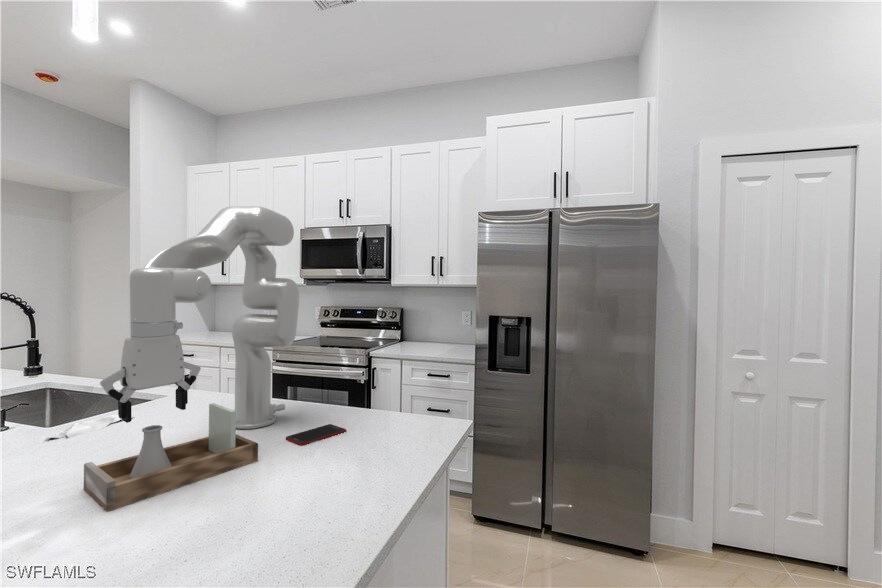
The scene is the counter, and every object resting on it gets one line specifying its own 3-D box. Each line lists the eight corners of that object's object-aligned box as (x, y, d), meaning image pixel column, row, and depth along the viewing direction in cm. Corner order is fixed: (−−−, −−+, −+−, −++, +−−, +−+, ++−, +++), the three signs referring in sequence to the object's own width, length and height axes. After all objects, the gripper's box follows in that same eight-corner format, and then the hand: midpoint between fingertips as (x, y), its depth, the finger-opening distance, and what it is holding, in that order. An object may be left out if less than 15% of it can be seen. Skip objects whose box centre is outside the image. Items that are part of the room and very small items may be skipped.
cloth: (129, 412, 132) (129, 405, 132) (157, 419, 127) (157, 411, 127) (19, 438, 109) (20, 429, 109) (47, 447, 103) (48, 438, 103)
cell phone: (347, 433, 117) (347, 429, 117) (301, 448, 105) (301, 444, 105) (330, 427, 122) (330, 423, 122) (284, 440, 110) (284, 437, 110)
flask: (150, 487, 80) (151, 435, 80) (119, 483, 82) (120, 431, 82) (181, 471, 87) (182, 423, 87) (152, 467, 89) (153, 420, 89)
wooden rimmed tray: (228, 447, 104) (228, 427, 104) (257, 460, 96) (258, 438, 96) (83, 489, 81) (83, 463, 81) (106, 511, 73) (107, 482, 73)
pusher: (212, 448, 99) (213, 403, 99) (235, 459, 93) (235, 411, 93) (208, 450, 98) (209, 404, 98) (230, 461, 92) (231, 411, 92)
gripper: (191, 324, 94) (191, 401, 94) (93, 332, 80) (95, 422, 80) (207, 327, 89) (208, 407, 90) (107, 336, 75) (108, 431, 76)
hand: (154, 414), depth 85 cm, fingers open, 9 cm apart
